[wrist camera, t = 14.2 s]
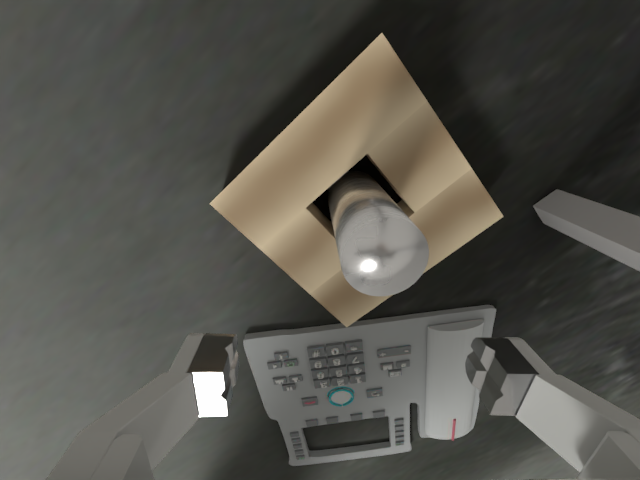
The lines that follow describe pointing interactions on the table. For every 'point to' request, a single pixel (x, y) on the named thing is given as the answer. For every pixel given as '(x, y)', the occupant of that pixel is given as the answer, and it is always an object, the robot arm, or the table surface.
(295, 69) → the table surface
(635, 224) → the pink-topped arch frame
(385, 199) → the peg
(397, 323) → the office telephone
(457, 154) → the socket block
